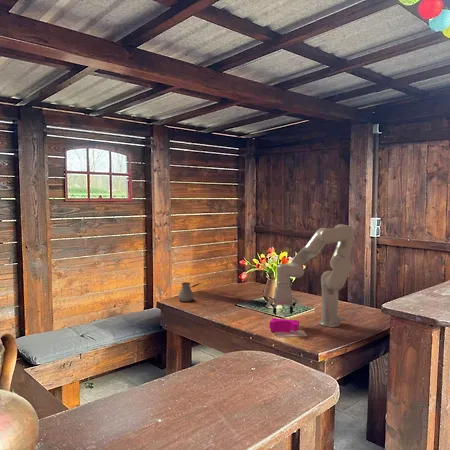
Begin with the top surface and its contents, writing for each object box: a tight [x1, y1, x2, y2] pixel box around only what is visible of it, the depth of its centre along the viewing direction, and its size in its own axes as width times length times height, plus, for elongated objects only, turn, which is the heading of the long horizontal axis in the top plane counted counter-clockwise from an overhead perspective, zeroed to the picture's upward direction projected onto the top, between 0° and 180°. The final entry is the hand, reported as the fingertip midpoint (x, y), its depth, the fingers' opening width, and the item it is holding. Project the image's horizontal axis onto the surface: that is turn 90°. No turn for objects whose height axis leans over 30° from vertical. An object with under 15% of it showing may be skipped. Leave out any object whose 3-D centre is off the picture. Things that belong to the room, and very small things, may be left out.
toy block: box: [269, 317, 300, 333], centre depth 222 cm, size 15×6×8 cm
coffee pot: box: [178, 281, 201, 303], centre depth 289 cm, size 21×12×15 cm, turn 45°
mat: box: [274, 329, 308, 338], centre depth 221 cm, size 16×9×1 cm, turn 97°
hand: (283, 314), depth 236 cm, fingers open, 9 cm apart
